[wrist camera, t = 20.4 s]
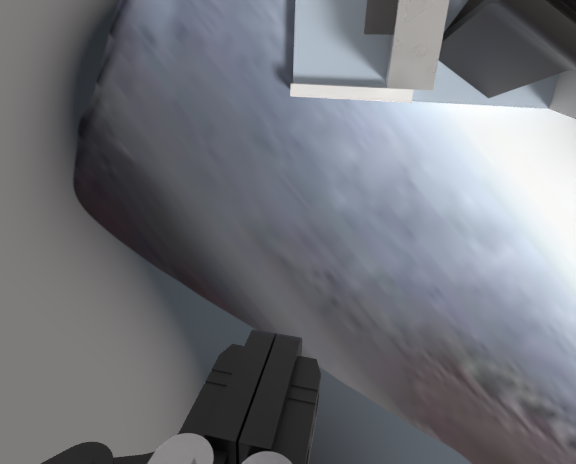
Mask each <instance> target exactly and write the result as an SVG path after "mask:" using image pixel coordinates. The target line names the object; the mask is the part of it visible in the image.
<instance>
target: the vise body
mask: <svg viewBox="0 0 576 464" xmlns="http://www.w3.org/2000/svg"><path fill="white" fill-rule="evenodd" d="M467 1H468V0H449V5H448V11H447V16H446V22H445V27H444V32H445V30H446V29H447V28H448V26H449V25H450V24H451V22H452V21H453V20H454V19H455V17H456V16H457V15H458V13H459V12H460V11H461V9H462V8H463V7H464V5H465V4H466V3H467ZM366 7H367V0H295V30H294V64H293V83H291V90H290V96H295V97H314V98H332V99H351V100H369V101H388V102H406V103H412V101H417V102H436V103H455V104H474V105H492V106H511V107H530V108H549V109H551V110H554V111H557V112H559V113H562V114H564V115H567V116H570V117H572V118H575V119H576V70H569V71H565V72H562V73H560V74H557V75H554V76H551V77H548V78H545V79H542V80H540V81H537V82H534V83H531V84H528V85H525V86H523V87H520V88H517V89H514V90H511V91H508V92H505V93H503V94H500V95H497V96H494V97H491V98H487V97H486V96H485V95H483V94H482V93H481V92H479V91H478V90H477V89H475V88H474V87H473V86H471V85H470V84H469V83H468V82H466V81H465V80H464V79H462V78H461V77H460V76H458V75H457V74H456V73H454V72H453V71H452V70H450V69H449V68H448V67H447V66H445V65H444V64H443V63H441V62H440V61H439V60H438V66H437V71H436V77H435V82H434V88H433V91H432V90H411V89H391V88H387V85H386V73H387V66H388V58H389V50H390V42H391V35H365V34H364V27H365V17H366Z"/></svg>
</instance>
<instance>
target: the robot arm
mask: <svg viewBox="0 0 576 464" xmlns="http://www.w3.org/2000/svg"><path fill="white" fill-rule="evenodd" d="M301 353H302V338H300V337H294V336H288V335H283V334H276V333H270V332H265V331H259V330H252V331H251V333H250V335H249V337H248V339H247V342H246V344H245V346H241V345H235V344H232V345H231V346H229V347H228V348H227V349H226V350H225V351H224V352H222V353H221V354H220V355H219V357H218V359H217V361H216V363H215V364H214V366H213V368H212V372H210V374H209V376H208V378H207V380H206V383H205V384H204V386H203V388H202V389H201V391H200V393H199V395H198V398H197V399H196V401H195V403H194V405H193V407H192V409H191V411H190V413H189V414H188V416H187V418H186V420H185V422H184V424H183V426H182V428H181V430H180V431H179V433H178V434H177V435H176V436H174V437H171V438H169V439H168V440H166V441H165V442H164V443H162V444H161V445H160V446H159V447H158V449H157V450H156V451H155V452H152V453H148V454H143V455H135V456H125V457H116V458H113V455H112V452H111V451H110V449H109V448H108V447H107V446H106V445H104V444H102V443H98V442H86V443H81V444H79V445H75V446H73V447H71V448H69V449H67V450H65V451H63V452H62V453H60V454H58V455H56V456H54V457H53V458H50V459H49V460H47V461H45V462H43V463H41V464H308V463H309V457H310V451H311V445H312V439H313V433H314V428H315V422H316V416H317V410H318V400H319V390H320V379H321V373H320V369H319V366H318V363H317V360H316V359H313V358H307V357H302V356H301Z"/></svg>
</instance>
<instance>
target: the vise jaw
mask: <svg viewBox="0 0 576 464" xmlns="http://www.w3.org/2000/svg"><path fill="white" fill-rule="evenodd" d="M448 5H449V0H367V7H366V17H365V27H364V34H365V35H391V42H390V50H389V58H388V66H387V73H386V85H387V88H391V89H411V90H432V91H433V88H434V82H435V77H436V71H437V66H438V60H439V55H440V49H441V44H442V38H443V33H444V27H445V22H446V16H447V11H448Z"/></svg>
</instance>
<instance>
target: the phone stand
mask: <svg viewBox="0 0 576 464" xmlns="http://www.w3.org/2000/svg"><path fill="white" fill-rule="evenodd" d="M439 61H440V62H441V63H443V64H444V65H445V66H447V67H448V68H449V69H450V70H452V71H453V72H454V73H456V74H457V75H458V76H460V77H461V78H462V79H464V80H465V81H466V82H468V83H469V84H470V85H471V86H473V87H474V88H475V89H477V90H478V91H479V92H481V93H482V94H483V95H485V96H486V97H487V98H491V97H494V96H497V95H500V94H503V93H505V92H508V91H511V90H514V89H517V88H520V87H523V86H525V85H528V84H531V83H534V82H537V81H540V80H542V79H545V78H548V77H551V76H554V75H557V74H560V73H562V72H565V71H569V70H576V0H468V1H467V3H466V4H465V5H464V7H463V8H462V9H461V11H460V12H459V13H458V15H457V16H456V17H455V19H454V20H453V21H452V22H451V24H450V25H449V26H448V28H447V29H446V30H445V32H444V33H443V38H442V44H441V49H440V55H439Z"/></svg>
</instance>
